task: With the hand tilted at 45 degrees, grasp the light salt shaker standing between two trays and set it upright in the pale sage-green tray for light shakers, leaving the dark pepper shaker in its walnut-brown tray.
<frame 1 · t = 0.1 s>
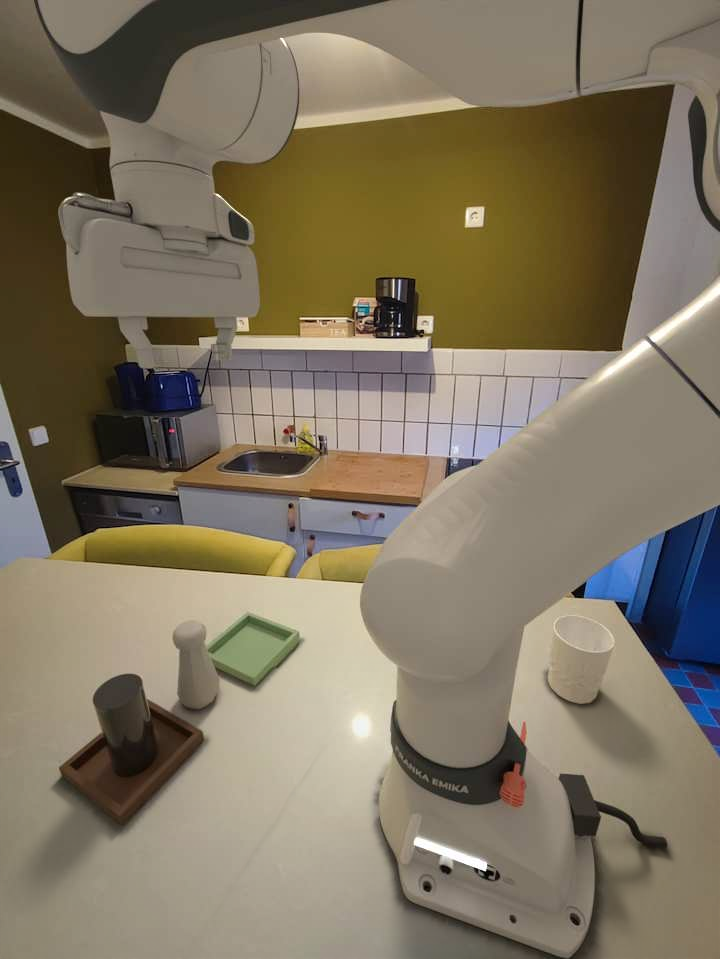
hand: (190, 363, 46), 48 cm above the table, tool pointing down, fingers open, 8 cm apart
white cup: (571, 686, 65), on the table
dark tray: (136, 760, 54), on the table
salt shaker: (201, 700, 63), on the table
light tray: (251, 651, 72), on the table
pepper shaker: (135, 756, 54), point 1 cm above the table, touching dark tray
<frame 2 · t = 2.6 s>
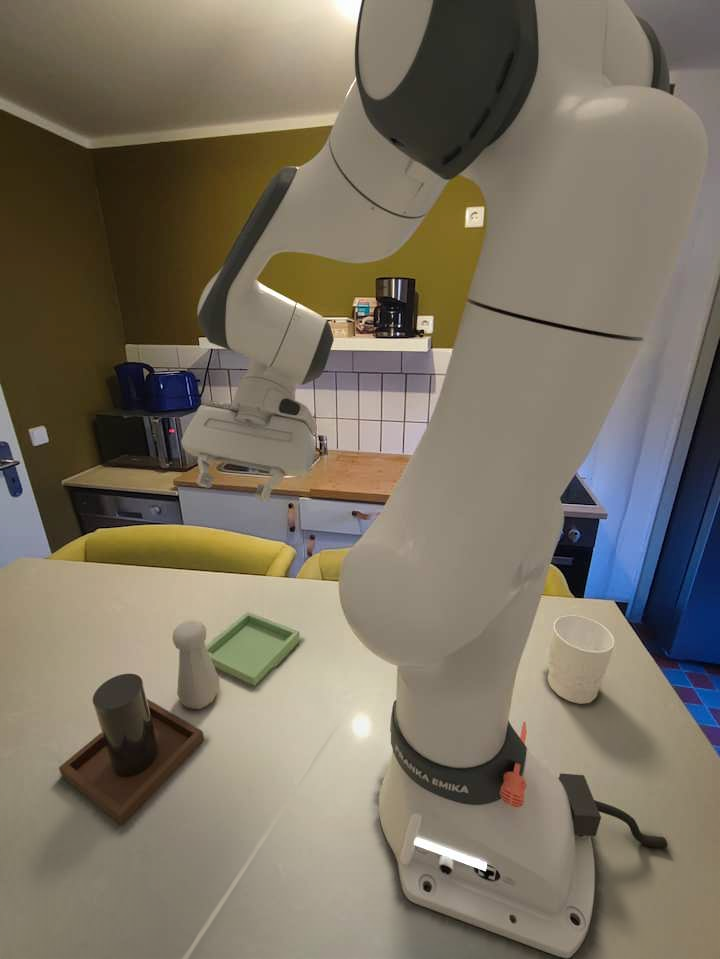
hand: (231, 492, 62), 29 cm above the table, tool tilted 40°, fingers open, 8 cm apart
nothing on the table moved.
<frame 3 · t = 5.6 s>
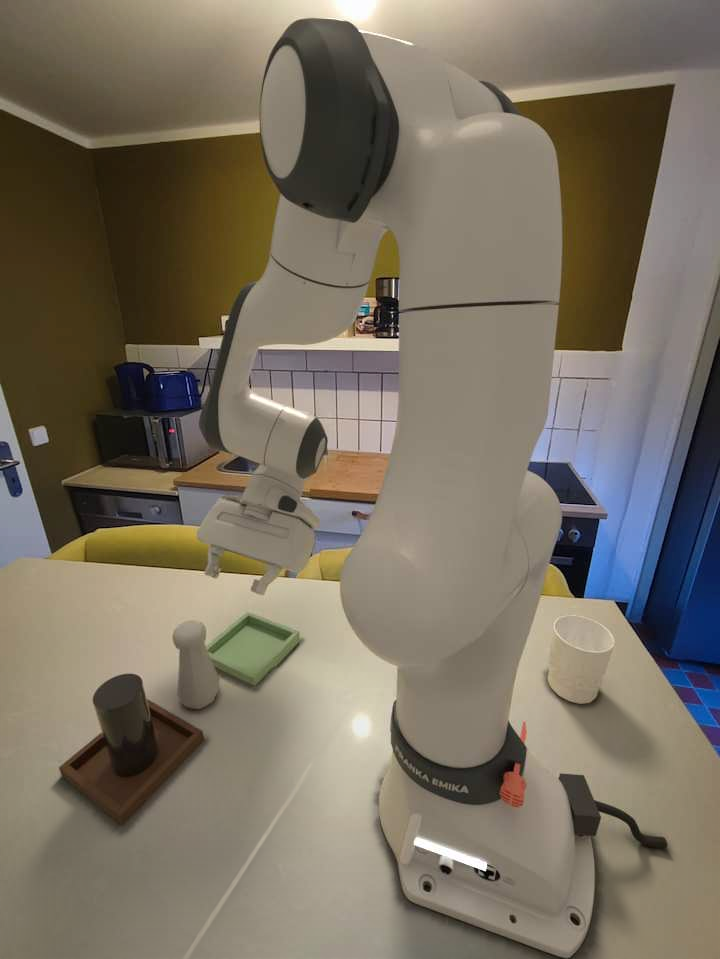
hand: (232, 584, 65), 15 cm above the table, tool tilted 45°, fingers open, 8 cm apart
nothing on the table moved.
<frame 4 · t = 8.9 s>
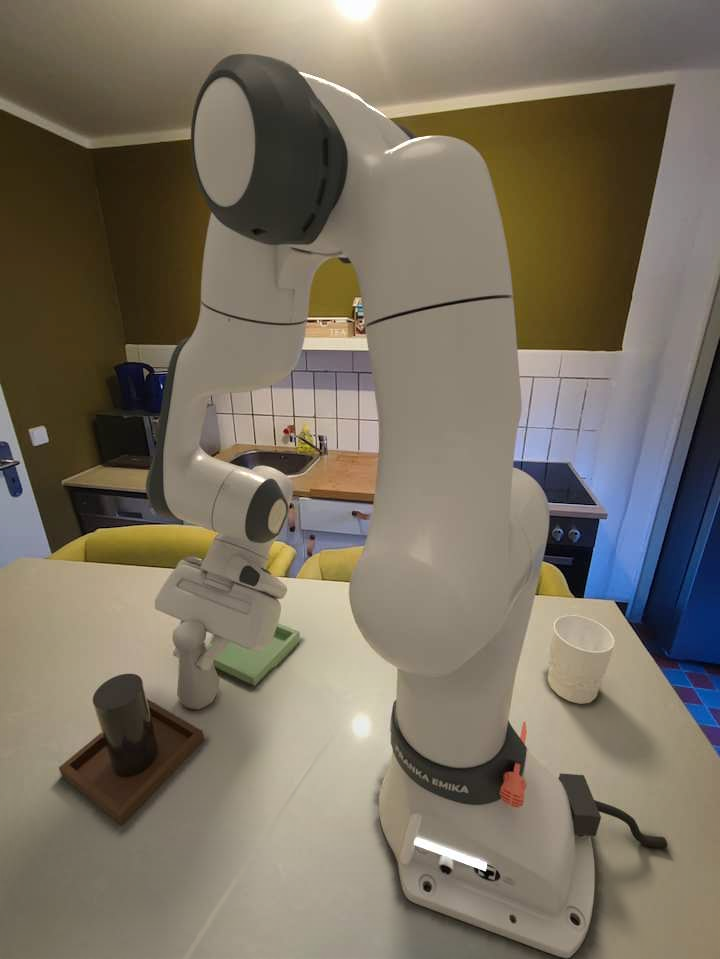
hand: (190, 663, 60), 7 cm above the table, tool tilted 45°, fingers closed on salt shaker, 3 cm apart
salt shaker: (201, 700, 63), on the table, touching gripper
everything else where it was.
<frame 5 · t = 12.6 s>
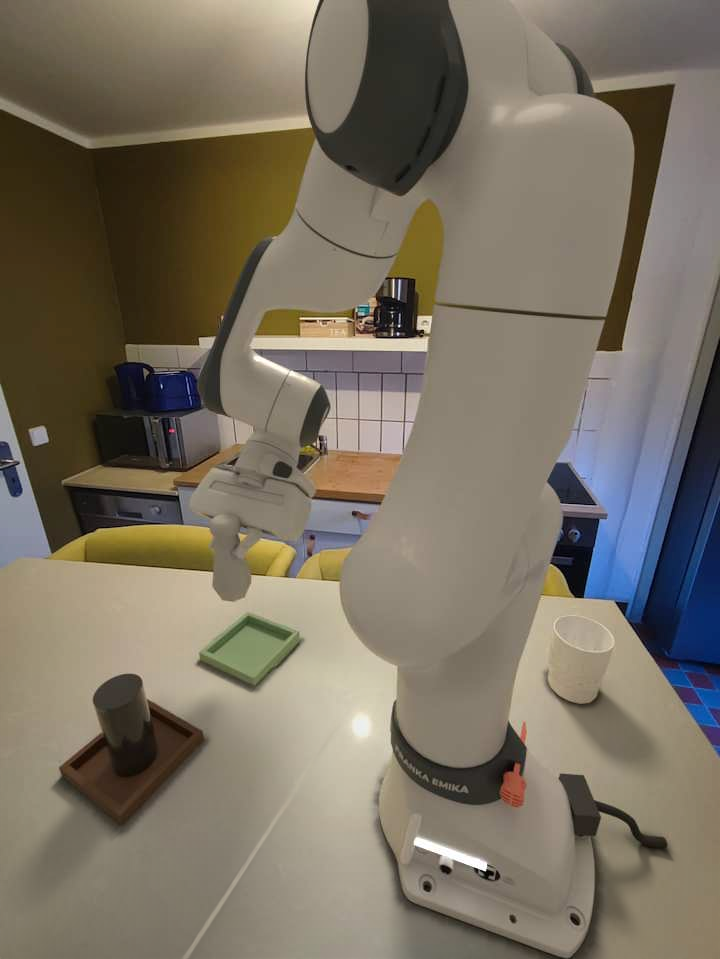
hand: (225, 554, 63), 20 cm above the table, tool tilted 45°, fingers closed on salt shaker, 3 cm apart
salt shaker: (234, 594, 66), point 13 cm above the table, touching gripper
everything else where it was.
when the fingers open (8 cm above the table, at t = 16.3 s): salt shaker stays where it is, resting on light tray.
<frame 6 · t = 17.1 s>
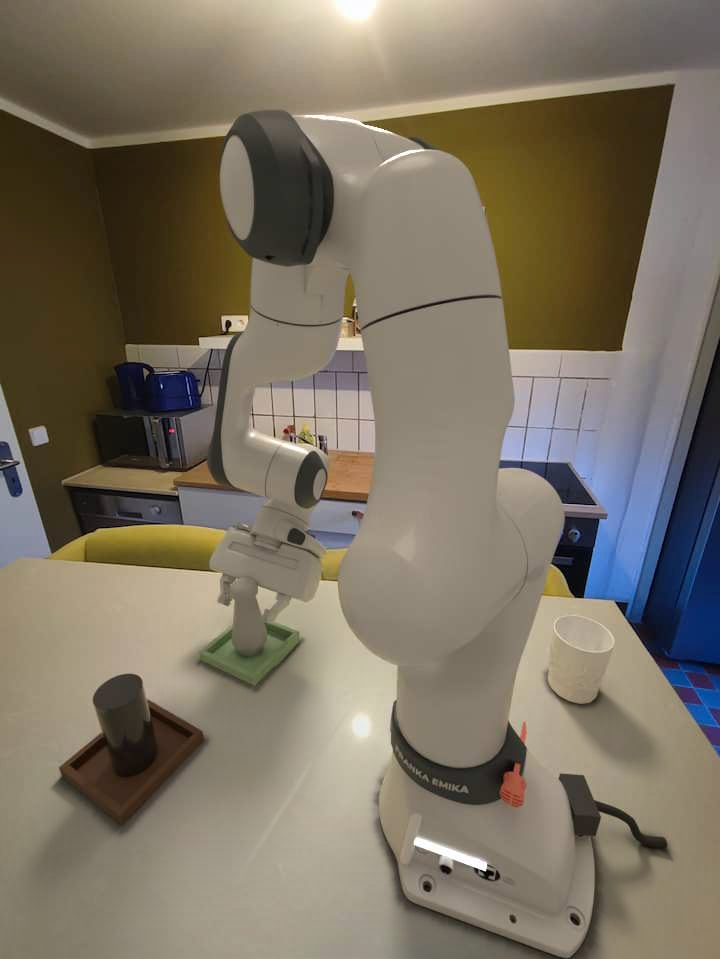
hand: (244, 613, 69), 8 cm above the table, tool tilted 45°, fingers open, 8 cm apart
salt shaker: (251, 649, 72), resting on light tray
everything else where it was.
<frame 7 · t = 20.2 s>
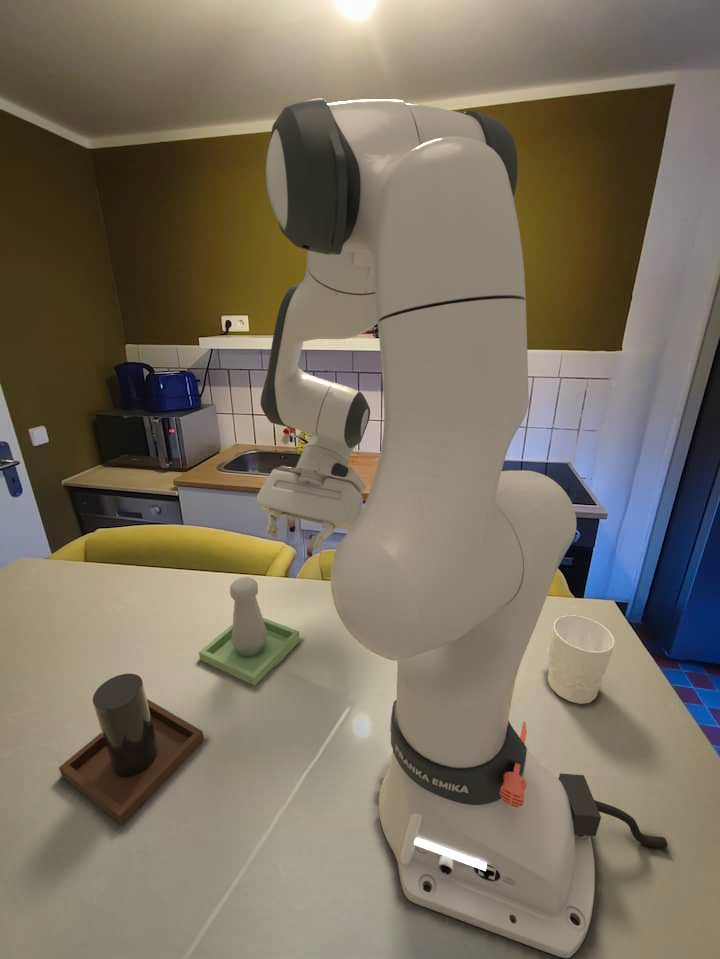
hand: (291, 541, 74), 16 cm above the table, tool tilted 45°, fingers open, 8 cm apart
nothing on the table moved.
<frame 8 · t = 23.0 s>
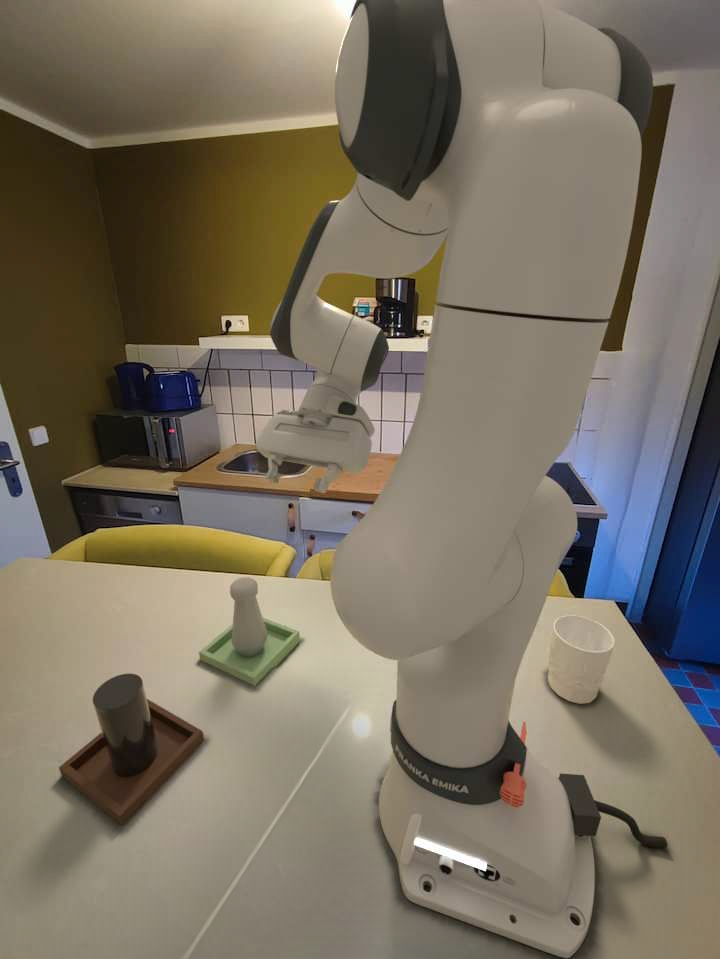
hand: (294, 486, 68), 27 cm above the table, tool tilted 45°, fingers open, 8 cm apart
nothing on the table moved.
at the end: salt shaker inside the target area in the light tray (0.1 cm from its centre), point 0.4 cm above the light tray's base; salt shaker tilted 0°; pepper shaker moved 0.0 cm from its start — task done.
